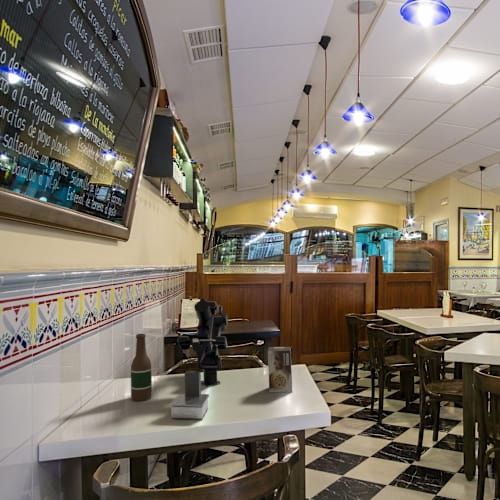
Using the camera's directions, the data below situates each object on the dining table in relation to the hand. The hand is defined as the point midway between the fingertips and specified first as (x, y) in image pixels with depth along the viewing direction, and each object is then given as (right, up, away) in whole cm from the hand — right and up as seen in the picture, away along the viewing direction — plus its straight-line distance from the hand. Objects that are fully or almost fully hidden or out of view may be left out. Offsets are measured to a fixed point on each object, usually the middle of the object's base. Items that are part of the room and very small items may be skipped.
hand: (199, 362), depth 138 cm
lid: (-1, -9, -13) cm, 16 cm away
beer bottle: (-22, -14, +3) cm, 27 cm away
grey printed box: (+31, -13, +8) cm, 35 cm away
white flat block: (-1, -13, -14) cm, 19 cm away
